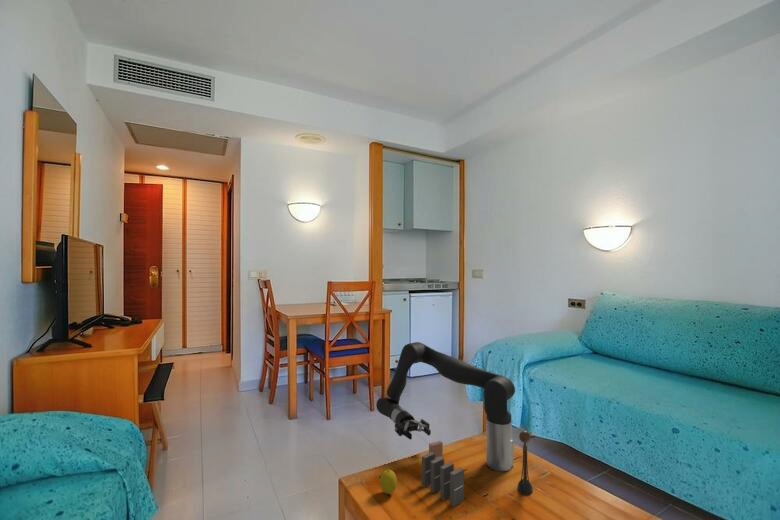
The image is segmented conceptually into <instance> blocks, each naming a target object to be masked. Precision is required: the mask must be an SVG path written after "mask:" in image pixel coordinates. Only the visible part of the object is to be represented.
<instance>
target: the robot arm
mask: <svg viewBox="0 0 780 520" xmlns="http://www.w3.org/2000/svg"><path fill="white" fill-rule="evenodd" d="M418 363H423V364H426V365H429V366H431V367H433V369H436V371H437V372H438V373H439V374H440V375H441V376H442V377H444V378H445V379H447V380H450V381H452V382H454V383H457V384H462V385H468V386H475V387H478V388H482V389H483V407H484V408H483V409H484V413H485V415H486V424H485V425H486V452H485V453H486V466H488V467H489V468H490V469H492V470H494V471H498V472H508V471H510V470H511V469H512V467H514V463H515V462H514V440H513V439H512V413H511V412H510V411H509V410H508V401H509V400H510V399H511V398H512V397H514V395H515V393H516V388H515V387H516V386H515V384H514V382H513V381H512V380H511V379H510V378H509V377H506V376H505V375H501V374H498V373H494V372H491V371H487V370H484V369H482V368H479V367H478V366H475V365H473V364H471V363H467V362H465V361H463V360H461V359H458V358H456V357H453V356H450V355H448V354H445V353H443V352H440V351H437V350H435V349H433V348H432V347H430V346H428V345H426V344H424V343H422V342H419V341H416V342H411V343H407V344H405V345H404V346H403V348H402V349H401V352H400V355H399V359H398V361H397V365H396V369H395V372H394V375H393V377H392V379H391V380H390V383H389V385H388V387H387V389H386V395H387V397H384V396H383V397H379V398H378V399H377V401H376V410H377V411H378V412H379V414H381V415H383V416H385V417H387V418H389V419H390V420H391V421H392V422H393V424H394V432H395V433H396V434H397V435H398V436H399V437H402V436H403V437H406V438H407V439H408V440H413V439H412V438H413V434H412V433H411V432H415V431H416V432H417V433H418V432H420V433H421V432H424V433H425V435H427V436H428V437H429V436H431V433H432V431H431V429H430V427H431V426H430V423H429V422H428V421H426V420H424V419H420V420H419V421H418V420H416V419H415V418H414V416H413V415H412V414H411V413H410V412H409V411H407V410H406V409H405V408H403V407H402V406H400V400H401V396H402V394H403V392H404V390H405V388H406V385H407V378H408V377H407V376H408V373H409V371H410V369H411V367H412V366H413V365H415V364H418Z"/></svg>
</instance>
